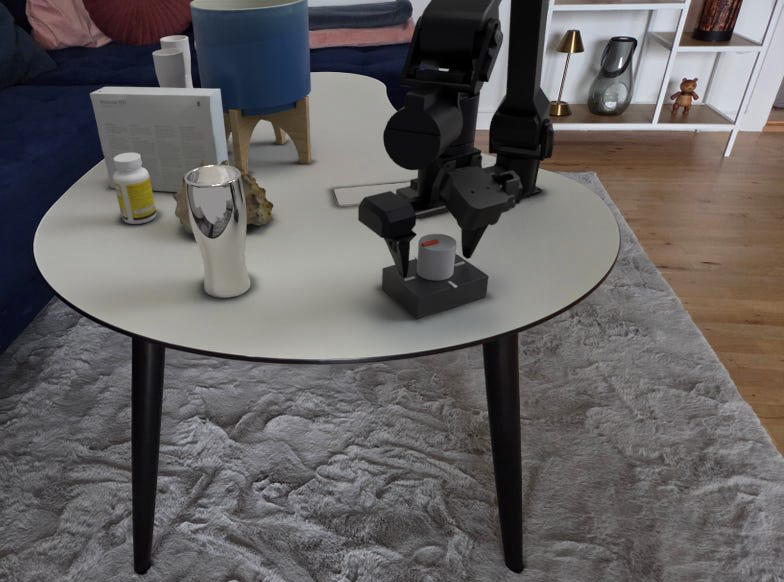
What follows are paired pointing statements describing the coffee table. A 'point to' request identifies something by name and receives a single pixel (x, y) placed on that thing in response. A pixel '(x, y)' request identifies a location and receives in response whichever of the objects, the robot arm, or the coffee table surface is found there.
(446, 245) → the timer knob
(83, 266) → the coffee table surface
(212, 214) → the beer glass
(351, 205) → the smartphone
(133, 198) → the supplement bottle
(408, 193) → the button block
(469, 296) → the timer panel
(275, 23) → the planter
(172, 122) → the skincare box
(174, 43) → the binoculars
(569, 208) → the coffee table surface
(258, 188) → the seashell
